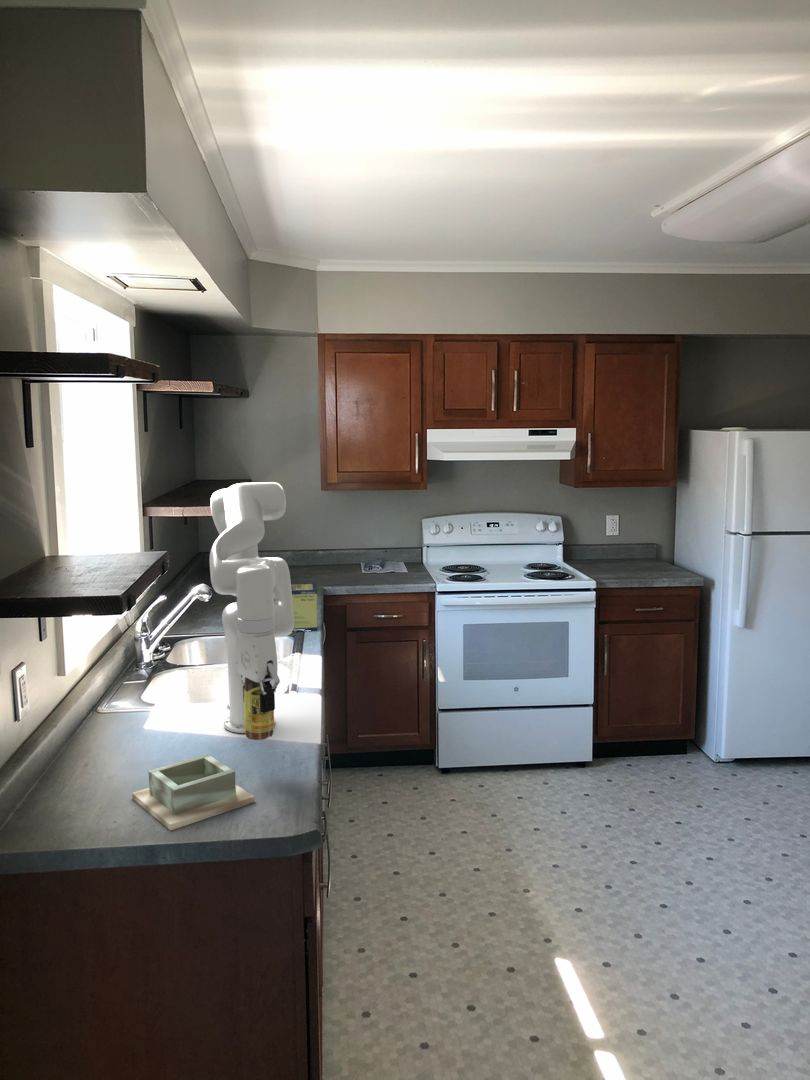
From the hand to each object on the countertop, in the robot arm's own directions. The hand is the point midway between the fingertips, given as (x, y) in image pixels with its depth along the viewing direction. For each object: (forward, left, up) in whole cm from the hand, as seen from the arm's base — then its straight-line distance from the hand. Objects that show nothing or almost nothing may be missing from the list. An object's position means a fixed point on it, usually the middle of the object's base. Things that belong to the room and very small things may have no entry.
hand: (259, 705), depth 181 cm
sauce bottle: (0, 0, -7) cm, 7 cm away
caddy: (+1, -16, -16) cm, 23 cm away
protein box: (-105, +76, -16) cm, 130 cm away
